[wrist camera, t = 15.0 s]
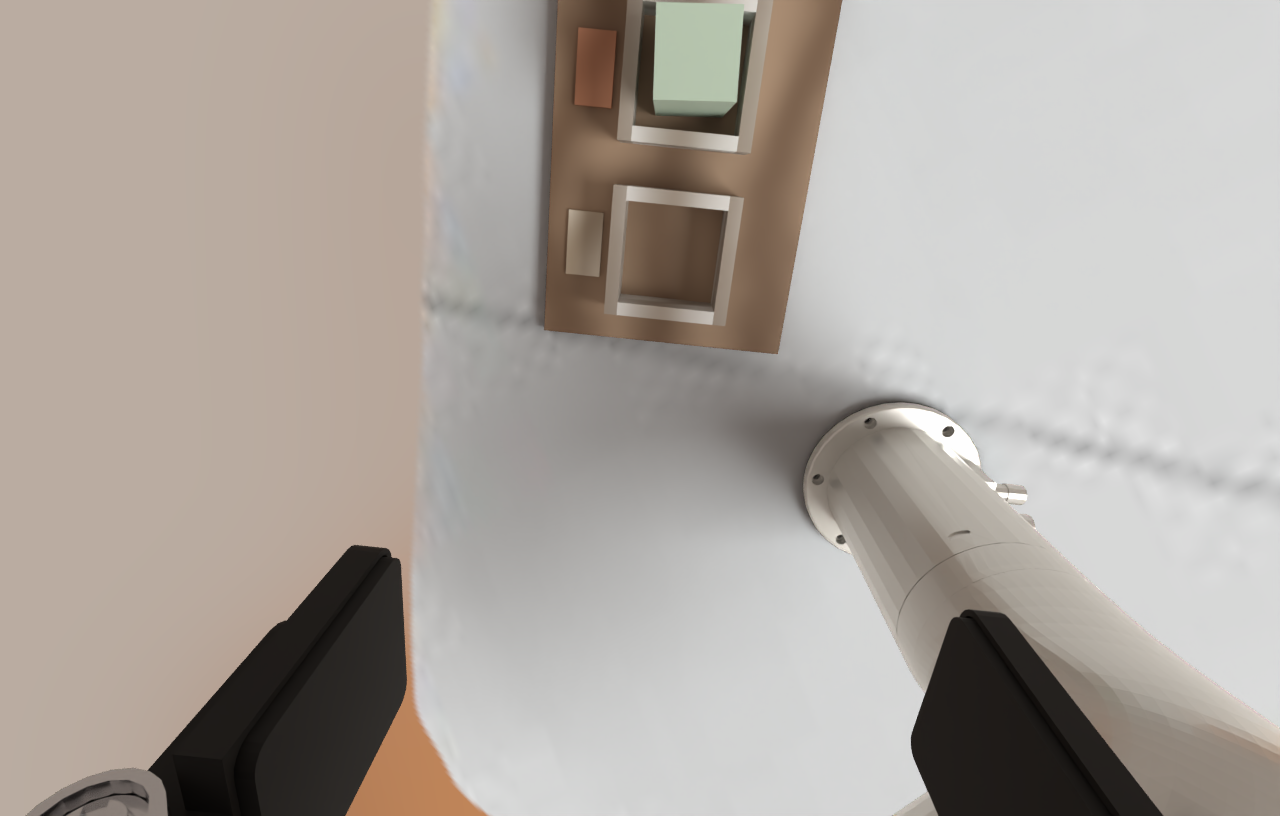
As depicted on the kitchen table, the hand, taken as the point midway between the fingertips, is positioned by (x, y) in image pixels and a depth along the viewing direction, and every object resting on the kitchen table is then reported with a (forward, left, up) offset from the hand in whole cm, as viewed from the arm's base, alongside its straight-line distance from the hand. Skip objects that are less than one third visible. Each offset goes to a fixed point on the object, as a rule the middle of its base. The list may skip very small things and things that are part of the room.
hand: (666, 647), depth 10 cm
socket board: (0, -8, -33) cm, 34 cm away
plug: (0, -13, -32) cm, 35 cm away
